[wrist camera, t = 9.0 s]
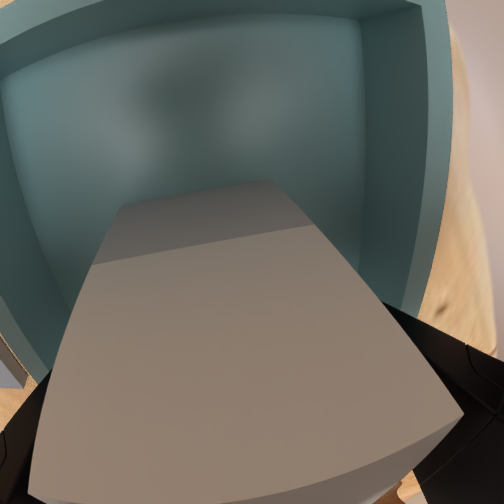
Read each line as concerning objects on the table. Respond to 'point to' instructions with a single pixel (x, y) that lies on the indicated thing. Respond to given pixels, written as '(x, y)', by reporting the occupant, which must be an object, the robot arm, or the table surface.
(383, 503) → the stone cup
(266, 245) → the beige rectangular block
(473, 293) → the table surface
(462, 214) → the table surface
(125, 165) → the bin
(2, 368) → the stud base
